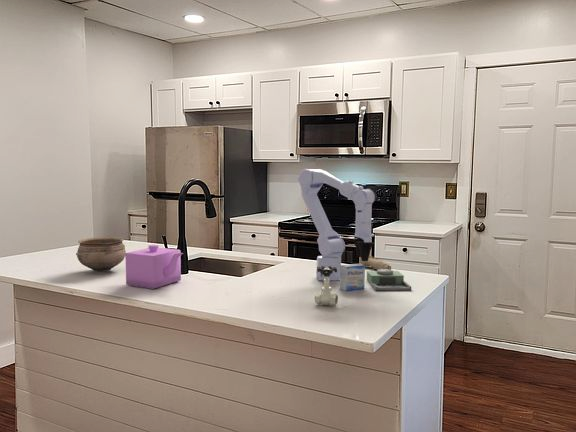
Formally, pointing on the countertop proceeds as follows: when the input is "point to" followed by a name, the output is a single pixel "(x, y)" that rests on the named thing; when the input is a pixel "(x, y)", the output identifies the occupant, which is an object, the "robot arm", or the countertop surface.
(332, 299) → the valve
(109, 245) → the cooking pot
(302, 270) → the countertop surface
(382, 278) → the green block with dome
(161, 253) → the teapot
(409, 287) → the gray rectangular tray
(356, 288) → the medicine box
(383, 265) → the handle
